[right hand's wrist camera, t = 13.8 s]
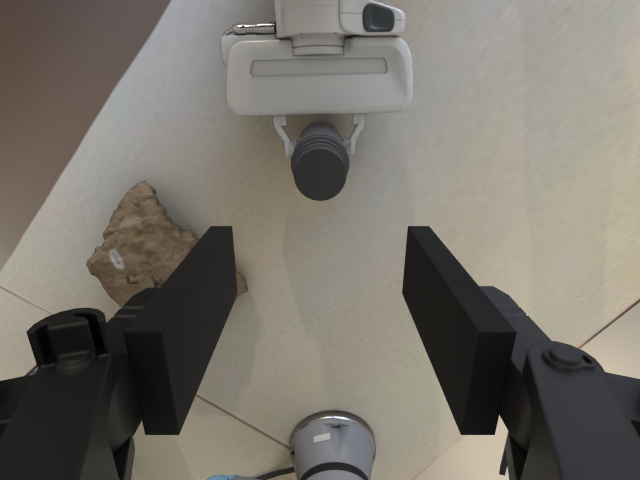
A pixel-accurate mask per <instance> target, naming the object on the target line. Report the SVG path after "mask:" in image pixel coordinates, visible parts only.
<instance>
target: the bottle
mask: <svg viewBox="0 0 640 480" xmlns="http://www.w3.org/2000/svg"><path fill="white" fill-rule="evenodd" d="M314 146H325V147H329V148H331V149H333V150H334V151H336V152H337V153H338V154H339V155H340V157H341V158H342V160H343V162H344V165H345V169H346V175H347V173H348V170H349V157H348V153H347V151H346V148H345V146H344V144H343V142H342V140H341V138H340V136H339V134H338V132H337V130H336V129H335V128H334V127H333V126H332V125H331V124H329V123H327V122H324V121H315V122H313V123H310V124H309V125H308V126H306V128H305V129H304V130H303V132H302V134H301V136H300V138H299V140H298V142H297V145H296V147H295V149H294V151H293V154H292V157H291V169H292V173H293V175H294V170H295V166H296V163H297V160H298V158H299V157H300V155H301V154H302V153H303V152H304V151H306V150H307V149H309V148H311V147H314Z"/></svg>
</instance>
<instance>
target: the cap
mask: <svg viewBox="0 0 640 480" xmlns="http://www.w3.org/2000/svg"><path fill="white" fill-rule="evenodd" d="M294 180H295V183H296V186H297V188H298V189H299V191H300V192H301V193H302V194H303V195H304V196H306V197H308V198H310V199H312V200H317V201H323V200H328V199H331V198H333V197H334V196H336V195H337V194H338V193H339V192H340V191H341V190H342V188H343V186H344V184H345V181H346V169H345V165H344V162H343V160H342V158H341V157H340V155H339V154H338V153H337V152H336V151H334V150H333V149H331V148H329V147H325V146H314V147H311V148H309V149H307V150H306V151H304V152H303V153H302V154H301V155H300V157H299V158H298V160H297V163H296V166H295V170H294Z"/></svg>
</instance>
